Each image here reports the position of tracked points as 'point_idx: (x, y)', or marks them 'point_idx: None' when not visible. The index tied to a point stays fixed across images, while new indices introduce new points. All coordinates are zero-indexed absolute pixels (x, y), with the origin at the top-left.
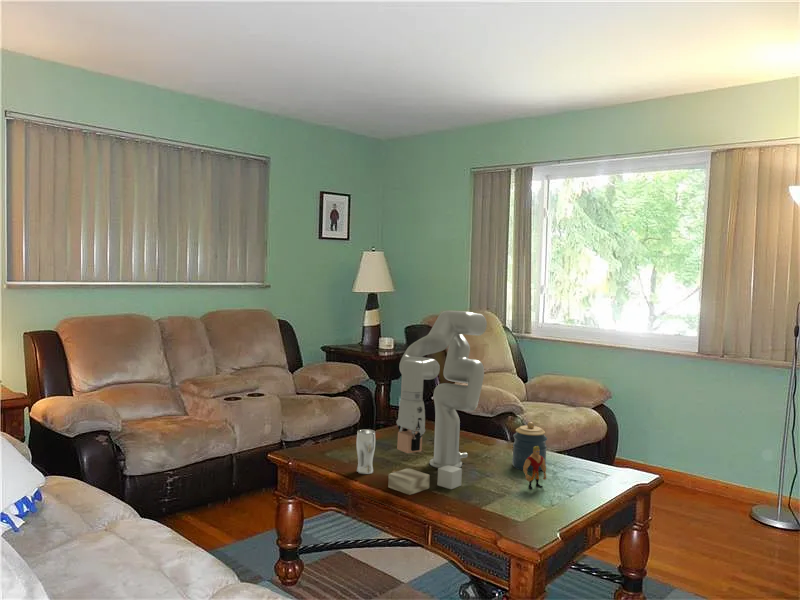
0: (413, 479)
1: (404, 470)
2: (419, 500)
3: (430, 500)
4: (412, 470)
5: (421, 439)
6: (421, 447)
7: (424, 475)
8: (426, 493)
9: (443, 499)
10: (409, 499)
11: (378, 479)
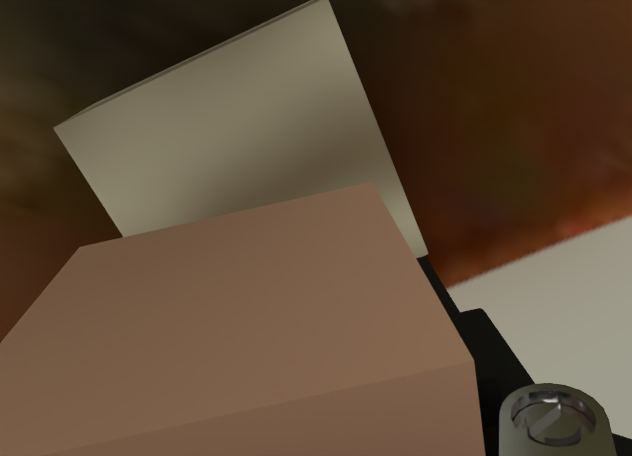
0: (402, 213)
1: (133, 195)
2: (521, 188)
3: (556, 114)
4: (148, 119)
5: (427, 291)
6: (384, 208)
7: (335, 65)
8: (419, 78)
9: (586, 4)
10: (476, 243)
11: (24, 305)
